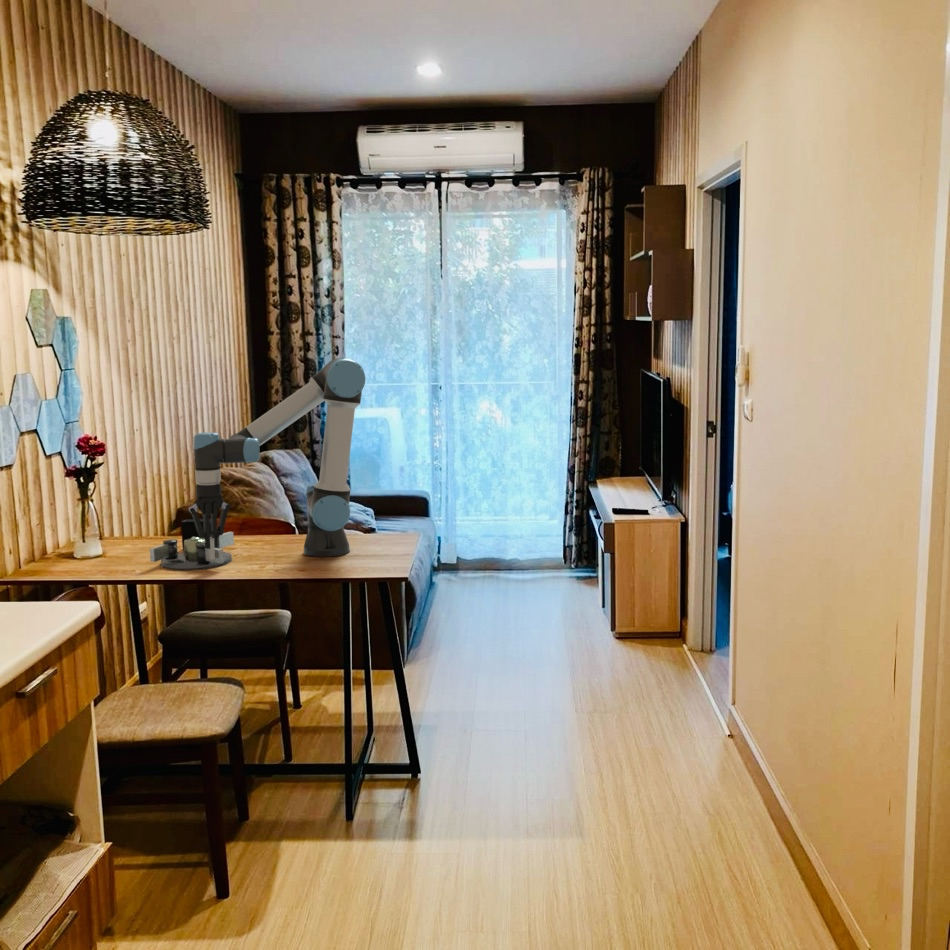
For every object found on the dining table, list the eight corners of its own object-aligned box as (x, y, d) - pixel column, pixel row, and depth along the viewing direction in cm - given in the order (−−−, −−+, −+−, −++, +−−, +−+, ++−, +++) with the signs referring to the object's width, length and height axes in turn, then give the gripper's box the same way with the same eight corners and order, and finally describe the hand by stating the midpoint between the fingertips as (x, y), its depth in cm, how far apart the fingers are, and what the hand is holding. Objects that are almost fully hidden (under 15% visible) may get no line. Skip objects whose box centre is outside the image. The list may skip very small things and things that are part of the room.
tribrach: (246, 557, 316) (244, 532, 315) (198, 573, 297) (196, 546, 296) (195, 551, 326) (193, 527, 325) (145, 566, 307) (144, 540, 306)
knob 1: (170, 556, 314) (168, 539, 313) (181, 557, 312) (180, 539, 311) (147, 564, 303) (145, 546, 303) (158, 565, 302) (157, 547, 301)
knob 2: (193, 562, 304) (192, 544, 303) (205, 559, 308) (204, 542, 307) (216, 567, 297) (215, 549, 297) (227, 564, 301) (226, 546, 300)
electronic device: (211, 550, 328) (210, 521, 327) (182, 550, 329) (180, 521, 327) (215, 547, 333) (213, 518, 331) (186, 547, 333) (184, 519, 331)
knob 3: (214, 554, 315) (213, 537, 315) (203, 553, 317) (202, 536, 317) (237, 547, 325) (236, 530, 324) (227, 546, 327) (226, 529, 326)
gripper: (224, 480, 302) (227, 554, 306) (184, 483, 296) (187, 559, 299) (232, 482, 296) (235, 558, 299) (191, 486, 289) (195, 563, 292)
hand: (211, 558), depth 299 cm, fingers closed
